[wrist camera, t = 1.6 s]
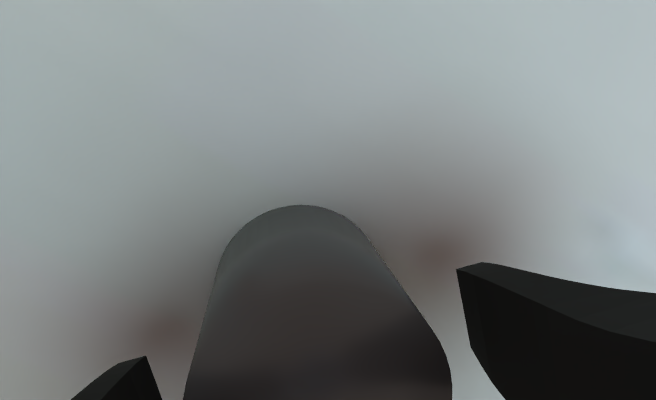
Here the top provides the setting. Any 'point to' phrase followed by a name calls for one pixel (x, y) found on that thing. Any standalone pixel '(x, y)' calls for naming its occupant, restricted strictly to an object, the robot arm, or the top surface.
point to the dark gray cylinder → (312, 319)
